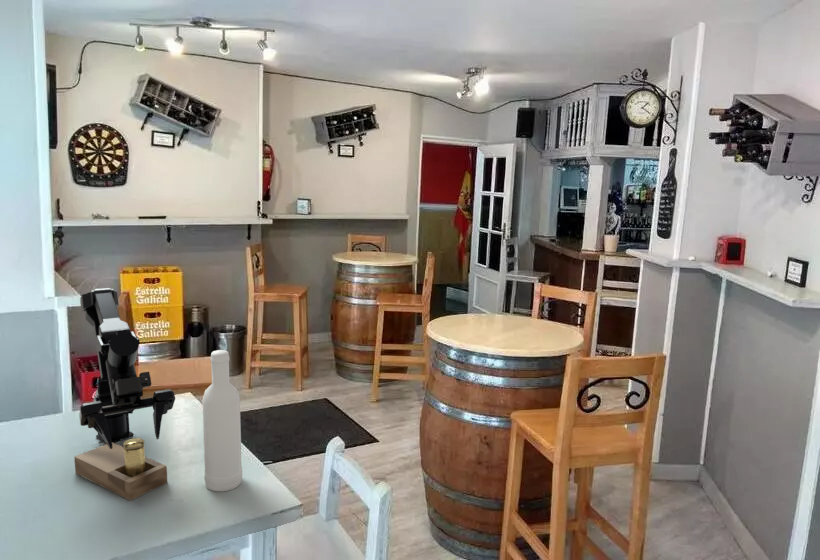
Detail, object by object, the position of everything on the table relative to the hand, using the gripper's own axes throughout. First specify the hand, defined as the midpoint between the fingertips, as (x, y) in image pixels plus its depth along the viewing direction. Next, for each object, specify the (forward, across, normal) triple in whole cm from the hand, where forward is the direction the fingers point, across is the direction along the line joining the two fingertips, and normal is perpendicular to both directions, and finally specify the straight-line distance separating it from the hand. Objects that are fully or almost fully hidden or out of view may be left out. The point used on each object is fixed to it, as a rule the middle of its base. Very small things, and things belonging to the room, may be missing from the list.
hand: (135, 443), depth 133 cm
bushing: (+6, 0, +8) cm, 11 cm away
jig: (+3, -2, +12) cm, 13 cm away
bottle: (+12, +16, +3) cm, 21 cm away
